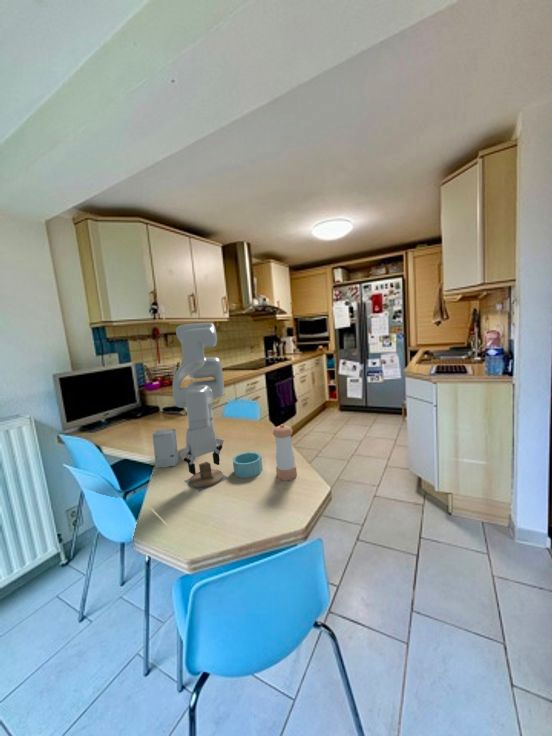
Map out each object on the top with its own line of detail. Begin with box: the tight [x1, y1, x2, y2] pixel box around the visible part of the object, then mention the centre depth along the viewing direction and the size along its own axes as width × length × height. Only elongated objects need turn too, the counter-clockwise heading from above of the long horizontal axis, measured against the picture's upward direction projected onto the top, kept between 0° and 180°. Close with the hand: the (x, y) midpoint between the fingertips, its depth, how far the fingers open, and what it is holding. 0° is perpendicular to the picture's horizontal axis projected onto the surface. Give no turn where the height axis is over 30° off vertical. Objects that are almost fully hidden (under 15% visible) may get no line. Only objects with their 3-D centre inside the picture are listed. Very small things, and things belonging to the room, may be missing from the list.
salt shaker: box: [272, 423, 298, 481], centre depth 109 cm, size 7×7×19 cm
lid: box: [189, 461, 224, 488], centre depth 112 cm, size 12×12×6 cm
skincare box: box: [152, 428, 179, 469], centre depth 129 cm, size 8×6×15 cm
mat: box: [184, 468, 230, 493], centre depth 112 cm, size 12×12×1 cm
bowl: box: [232, 451, 264, 479], centre depth 116 cm, size 11×11×6 cm
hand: (205, 468), depth 111 cm, fingers open, 9 cm apart
